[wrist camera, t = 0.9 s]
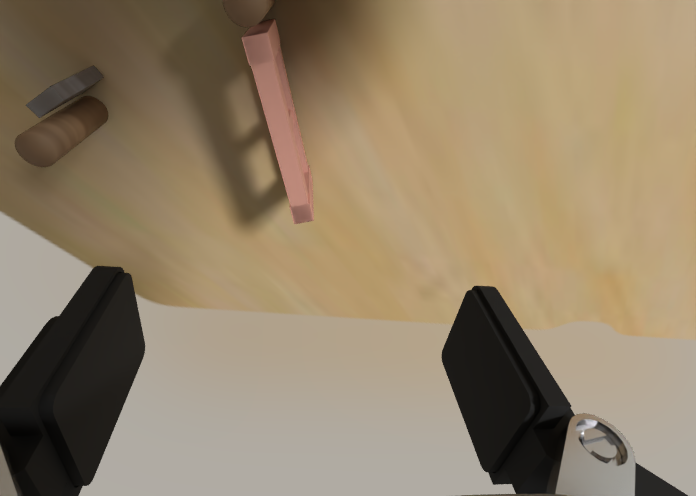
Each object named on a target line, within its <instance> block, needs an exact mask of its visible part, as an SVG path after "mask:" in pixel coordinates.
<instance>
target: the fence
mask: <svg viewBox="0 0 696 496" xmlns="http://www.w3.org/2000/svg"><path fill="white" fill-rule="evenodd" d="M274 2H275V0H223V6H224V9H225V11H226V13H227V15H228V16H229V18H230V19H231V20H232V21H233V22H234V23H236V24H237V25H239V26H242V27H253V26H255V25H257V24H258V23H260V22H261V20H262V19H263V18H264V17H265V15H266V14H267V13H268V11H269V10H270V9H271V7H272V6H273V4H274ZM102 78H104V77H103V75H102V74H101V73H100V72H99V71H98V70H97V69H96V68H95V66H94V65H93V66H91V67H89V68H87V69H85V70H83V71H81V72H79V73H77V74H75V75H73V76H71V77H69V78H67V79H65V80H63V81H60V82H58V83H56V84H54V85H52V86H50V87H49V88H48V89H46V90H45V91H44V92H42V93H41V94H40V95H38V96H37V97H36V98H34V99H33V100H32V101H30V102H29V103H28V104H26V106H27V107H28V108H29V109H30V110H31V111H32V112H34V113H35V114H36V115H37V116H38V117H39V118H40V117H42V116H44V115H45V114H47V113H49V112H50V111H52V110H54V109H56V108H57V107H59V106H61V105H62V104H64V103H66V102H68V101H69V100H71V99H73V98H74V97H76V96H78V95H80V94H81V93H83V92H84V91H86V90H87V89H88V88H90V87H91V86H93V85H94V84H95V83H97V82H98V81H99V80H101V79H102ZM107 119H108V111H107V109H106V107H105V105H104V104H103V103H102V102H101V101H99V100H98V99H96V98H94V97H91V96H84V97H81V98H80V99H78V100H76V101H75V102H73V103H71V104H70V105H68V106H66V107H65V108H63V109H61V110H60V111H58V112H56V113H55V114H53V115H51V116H50V117H48V118H46V119H45V120H43V121H41V122H40V123H38V124H36V125H35V126H33V127H31V128H30V129H28V130H26V131H25V132H23V133H22V134H20V135H18V136H17V138H16V140H15V147H16V150H17V152H18V153H19V155H20V156H21V157H22V158H23V159H24V160H25V161H27V162H28V163H30V164H32V165H35V166H38V167H48V166H51V165H53V164H54V163H55V162H56V161H58V160H59V159H60V158H61V157H63V156H64V155H65V154H66V153H68V152H69V151H70V150H71V149H73V148H74V147H75V146H76V145H78V144H79V143H80V142H81V141H83V140H84V139H85V138H86V137H88V136H89V135H90V134H91V133H93V132H94V131H95V130H96V129H98V128H99V127H100V126H101V125H103V124H104V123H105V122H106V121H107Z"/></svg>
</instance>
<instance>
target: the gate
mask: <svg viewBox="0 0 696 496" xmlns="http://www.w3.org/2000/svg"><path fill="white" fill-rule="evenodd" d="M242 42H243V45H244V49H245V52H246V56H247V59H248V63H249V66H251V67H252V71H253V75H254V78H255V82H256V85H257V89H258V92H259V96H260V99H261V103H262V106H263V110H264V114H265V117H266V121H267V124H268V128H269V131H270V135H271V138H272V142H273V146H274V149H275V153H276V156H277V160H278V163H279V167H280V170H281V174H282V177H283V181H284V185H285V188H286V192H287V195H288V199H289V202H290V210H291V214H292V218H293V221H294V224H298V223H304V222H309V221H314V209H313V180H312V176H311V171H310V167H309V165H308V163H307V159H306V155H305V150H304V146H303V142H302V137H301V133H300V129H299V125H298V120H297V116H296V112H295V107H294V103H293V99H292V95H291V90H290V86H289V82H288V78H287V73H286V69H285V65H284V60H283V56H282V52H281V48H280V43H281V42H280V38H279V33H278V29H277V25H276V20H275V19H271V20H266V21H261V22H260V23H258V24H257V25H255V26H253V27H250V28H249V29H248V31H247V32H246V33H245V34H244V35H243V36H242Z"/></svg>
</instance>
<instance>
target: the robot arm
mask: <svg viewBox="0 0 696 496" xmlns="http://www.w3.org/2000/svg"><path fill="white" fill-rule="evenodd" d="M144 351H145V342H144V337H143V332H142V327H141V322H140V317H139V312H138V307H137V302H136V297H135V292H134V287H133V282H132V277H131V275H130V274H129V273H124V270H123V268H121V267H108V266H96V267H94V268H93V269H92V271H91V272H90V274H89V275H88V277H87V278H86V279H85V281H84V282H83V284H82V285H81V286H80V288H79V289H78V291H77V292H76V293H75V295H74V296H73V298H72V299H71V300H70V302H69V303H68V305H67V306H66V308H65V309H64V310H63V312H62V313H61V314H60V316H56V317H54V318H51V319H50V320H49V321H48V322H47V323H46V325H45V326H44V327H43V329H42V330H41V331H40V333H39V334H38V336H37V337H36V338H35V340H34V341H33V342H32V344H31V345H30V346H29V348H28V349H27V350H26V352H25V353H24V355H23V356H22V357H21V359H20V360H19V361H18V363H17V364H16V365H15V367H14V368H13V370H12V371H11V372H10V374H9V375H8V376H7V378H6V379H5V380H4V382H3V383H2V385H1V386H0V496H78V495H79V493H80V490H81V488H82V486H87V485H89V484H90V483H91V481H92V480H93V478H94V476H95V473H96V471H97V468H98V466H99V464H100V461H101V459H102V456H103V454H104V451H105V449H106V447H107V444H108V441H109V439H110V437H111V434H112V432H113V430H114V427H115V425H116V422H117V420H118V417H119V415H120V413H121V410H122V408H123V405H124V403H125V400H126V398H127V396H128V393H129V391H130V388H131V386H132V383H133V381H134V378H135V376H136V374H137V371H138V369H139V367H140V364H141V362H142V359H143V356H144V353H145V352H144ZM442 362H443V365H444V368H445V370H446V373H447V376H448V378H449V381H450V384H451V386H452V389H453V392H454V395H455V397H456V400H457V402H458V405H459V408H460V411H461V413H462V416H463V418H464V421H465V424H466V427H467V429H468V432H469V435H470V437H471V440H472V443H473V445H474V448H475V451H476V453H477V456H478V459H479V461H480V464H481V466H482V468H483V470H484V471H485V472H488V473H489V475H490V478H491V480H492V482H493V484H494V485H495V484H512V485H513V488H514V490H515V492H516V494H501V495H500V494H498V495H497V494H496V495H462V496H688V495H686V494H685V493H683V492H681V491H680V490H678V489H677V488H675V487H673V486H672V485H670V484H669V483H667V482H666V481H664V480H662V479H661V478H659V477H658V476H656V475H654V474H653V473H651V472H650V471H648V470H646V469H645V468H643V467H642V466H640V465H639V464H637V463H635V456H634V451H633V449H632V447H631V445H630V443H629V442H628V441H627V440H626V438H625V437H624V436H623V434H622V433H621V432H620V431H619V430H617V429H616V428H615V427H614V426H613V425H611V424H610V423H608V422H607V421H605V420H604V419H602V418H599V417H597V416H595V415H591V414H586V413H583V414H576V415H574V413H573V411H572V410H571V408H570V407H571V405H570V403H569V402H568V400H567V398H566V397H565V395H564V394H563V392H562V391H561V389H560V388H559V386H558V384H557V383H556V381H555V380H554V378H553V376H552V375H551V373H550V372H549V370H548V369H547V367H546V365H545V364H544V362H543V361H542V359H541V358H540V356H539V355H538V353H537V351H536V350H535V348H534V347H533V345H532V344H531V342H530V340H529V339H528V337H527V336H526V334H525V333H524V331H523V329H522V328H521V326H520V325H519V323H518V322H517V320H516V318H515V317H514V315H513V314H512V312H511V311H510V309H509V307H508V306H507V304H506V303H505V301H504V300H503V298H502V296H501V295H500V293H499V292H498V290H497V289H496V288H495V287H490V286H474V287H473V288H472V290H469V291H467V292H466V294H465V297H464V299H463V302H462V304H461V307H460V309H459V311H458V314H457V316H456V319H455V321H454V324H453V326H452V328H451V331H450V333H449V336H448V338H447V341H446V343H445V345H444V348H443V350H442Z"/></svg>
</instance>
